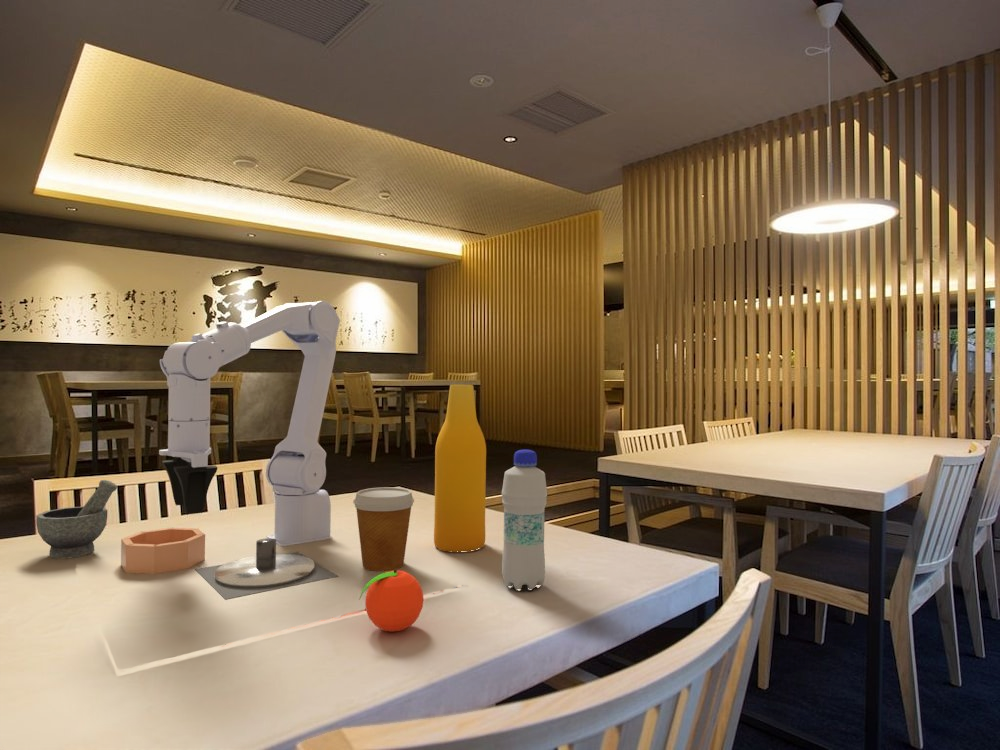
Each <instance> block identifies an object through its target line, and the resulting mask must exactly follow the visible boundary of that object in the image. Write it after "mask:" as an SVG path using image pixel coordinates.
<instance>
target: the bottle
mask: <svg viewBox="0 0 1000 750" xmlns="http://www.w3.org/2000/svg"><path fill="white" fill-rule="evenodd" d="M537 456H538V455H537V453H536V451H534V450H532V449H519V450H517V451H515V452H514V454H513V465H514V466H513V467H511V468H509V469H506V471H504V475H503V483H502V489H501V497H502V500H501V504H502V505H503V548H502V549H503V551H502V559H501V560H502V561H501V573H502V579H503V582H504V585H505V587H507V586H512V585H513V588H514V589H515V590H516V589H521V588H523V585H527V586H526V587H527V589H528V588H529V589H533V588H535V586H536V585H542V586H543V585H544V581H545V573H546V559H545V508H546V505H547V503H548V501H547V497H548V489H547V480H546V479H547V478H546V473H545V472H544V471H543V470H541V469H540V468H538V467H536V466H537V465H538V457H537ZM535 589H536V588H535ZM521 590H522V589H521Z"/></svg>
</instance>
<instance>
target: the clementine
mask: <svg viewBox="0 0 1000 750" xmlns="http://www.w3.org/2000/svg"><path fill="white" fill-rule="evenodd" d="M367 588H368V589H367ZM366 589H367V592H366V594H365V610H366V614H367V616H368V619H369V620H370V622H372V623H373V624H374V626H376V627H377V628H379V629H380V630H383V631H385V632H400V631H405V630H406V629H407V628H409V627H410V626H412V625H414V623H415V622H416V620H417V619H418V618H419V617H420V614H421V612H422V609H423V606H424V600H425V599H424V592H423V589H422V586H421V585H420V582H419V581H418V580H417V578H416V577H414V576H413V575H412V574H410V573H408V572H406V571H404V570H399V569H395V570H391V571H384V572H382V573H380V574H378V575H376V576H374V577H372V579H370V580H369V581H368V582H367V583H366V584H365V586H364V587H363V589H362V590H361V594H360V597H359V598H358V599H359V601H360V599H361V597H362V596H363V594H364V592H365V590H366Z"/></svg>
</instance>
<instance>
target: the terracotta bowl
mask: <svg viewBox="0 0 1000 750" xmlns="http://www.w3.org/2000/svg"><path fill="white" fill-rule="evenodd" d="M120 540H121V541H120V543H121V545H120V549H121V550H120V565H121V568H123V570H124V572H125V573H127V574H128V573H130V574H131V573H132V574H150V575H151V574H153V575H155V574H162V573H167V572H172V571H179V570H184V569H189V568H191V567H193V566H194V565H197V564H198V563H201V562H203V561H204V560H205V559H206V557H205V556H206V534H205V533H204V532H203V531H202V530H201V529H199V528H193V527H192V528H190V527H189V528H187V527H168V528H160V529H152V530H150V529H149V530H144V531H139V532H137V533H134V534H131V535H128V536H125V537H122V538H121V539H120Z"/></svg>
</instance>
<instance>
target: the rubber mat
mask: <svg viewBox="0 0 1000 750" xmlns="http://www.w3.org/2000/svg"><path fill="white" fill-rule="evenodd" d="M286 554H292V555H299V556H304V557H307V556H306V555H305V554H303V553H301V552H299V551H294V552H293V551H292V552H288V553H286ZM307 558H309V557H307ZM224 564H225V563H223V564H218V565H212V566H207V567H200V568H195V569H194V570H195V571H196V572H197V573H198V574H199V575H200V577H202V578H203V579H204V580H205V581H206V582H207V583H208V584H209V585H210V586H211V587H212V588H213V589H214V590H215V591H216V593H218V594H219V595H220V596H221V597H222V599H224V600H225V601H227V600H231V599H235V598H240V597H244V596H245V597H246V596H250V595H255V594H259V593H261V594H262V593H265V592H269V591H274V590H280V589H284V588H285V589H286V588H289V587H294V586H299V585H304V584H308V583H313V582H318V581H324V580H328V579H332V578H338V577H339V575H338V574H336V573H334V572H333V571H331V570H330V569H328V568H327V567H324V566H323V565H321V564H319V563H318V562H316V561H314V571H313V573H312V574H311V575H309V576H308V577H306V578H304V579H301V580H299V581H296V582H293V583H289V584H285V585H280V586H274V587H266V588H234V587H228V586H224V585H221V584H219V583H218V582H216V580H215V571H216V570H217V569H218V568H219V567H220V566H222V565H224Z"/></svg>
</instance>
